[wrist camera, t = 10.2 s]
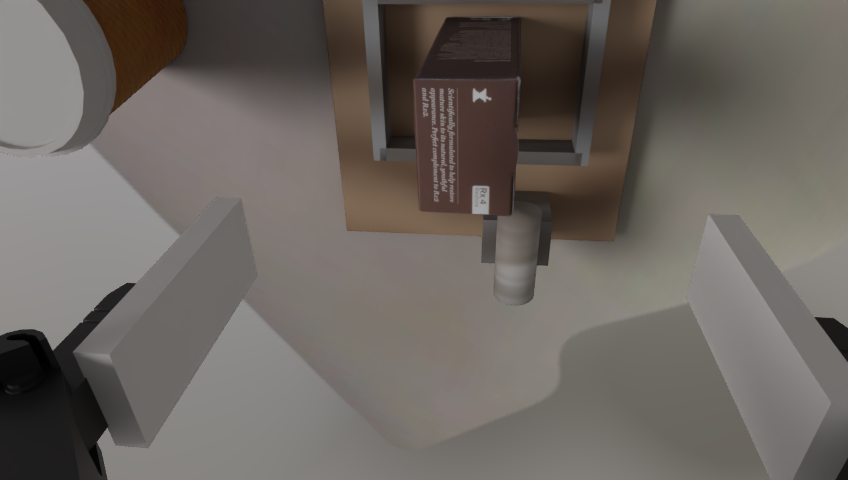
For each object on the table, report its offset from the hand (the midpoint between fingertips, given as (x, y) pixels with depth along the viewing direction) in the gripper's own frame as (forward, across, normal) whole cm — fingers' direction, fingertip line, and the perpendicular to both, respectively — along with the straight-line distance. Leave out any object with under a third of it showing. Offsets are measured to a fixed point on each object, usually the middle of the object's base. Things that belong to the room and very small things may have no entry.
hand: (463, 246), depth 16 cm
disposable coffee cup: (+21, -21, +3) cm, 30 cm away
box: (+19, 0, 0) cm, 19 cm away
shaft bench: (+20, 0, 0) cm, 20 cm away
